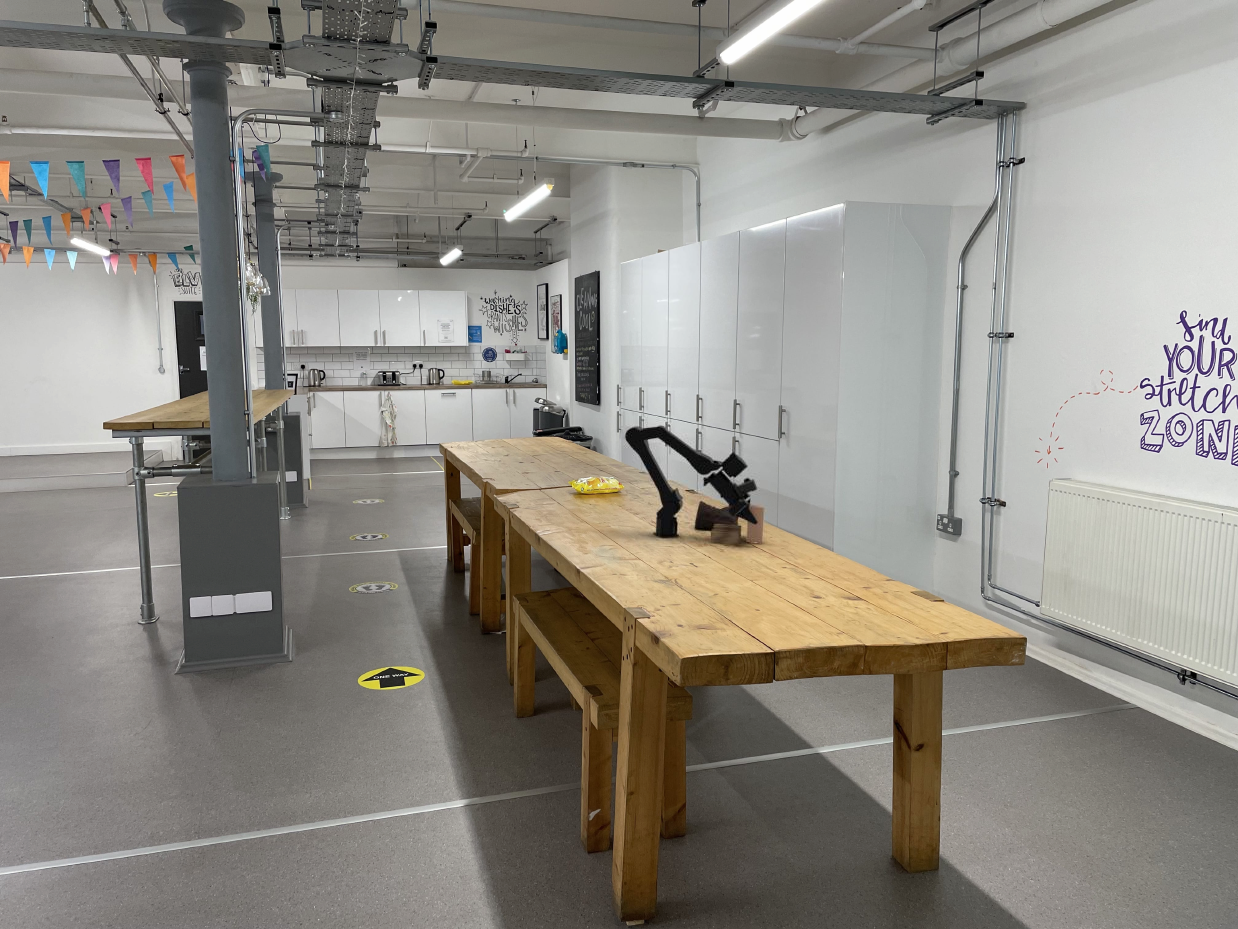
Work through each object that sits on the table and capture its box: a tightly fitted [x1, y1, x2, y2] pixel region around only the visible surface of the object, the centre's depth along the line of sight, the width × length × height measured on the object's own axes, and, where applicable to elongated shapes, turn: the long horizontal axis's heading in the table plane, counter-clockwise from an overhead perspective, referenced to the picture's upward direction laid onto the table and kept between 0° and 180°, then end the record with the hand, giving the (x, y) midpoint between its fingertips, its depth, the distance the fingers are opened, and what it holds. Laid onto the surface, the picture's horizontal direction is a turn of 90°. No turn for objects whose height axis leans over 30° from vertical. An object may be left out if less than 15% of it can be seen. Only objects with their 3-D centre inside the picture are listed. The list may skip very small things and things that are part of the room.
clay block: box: [746, 504, 765, 544], centre depth 283 cm, size 5×4×12 cm
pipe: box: [694, 500, 740, 530], centre depth 305 cm, size 10×15×15 cm
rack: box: [709, 524, 742, 546], centre depth 285 cm, size 9×13×4 cm
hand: (757, 522), depth 283 cm, fingers closed on clay block, 4 cm apart
